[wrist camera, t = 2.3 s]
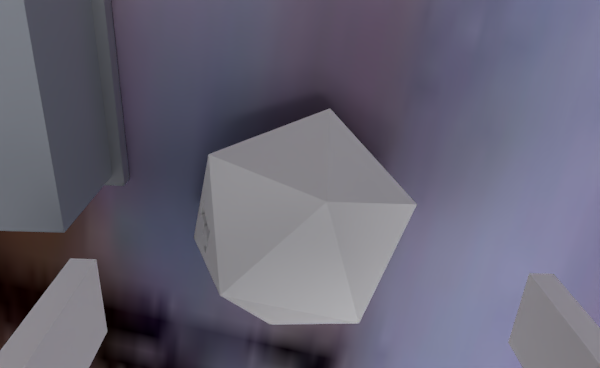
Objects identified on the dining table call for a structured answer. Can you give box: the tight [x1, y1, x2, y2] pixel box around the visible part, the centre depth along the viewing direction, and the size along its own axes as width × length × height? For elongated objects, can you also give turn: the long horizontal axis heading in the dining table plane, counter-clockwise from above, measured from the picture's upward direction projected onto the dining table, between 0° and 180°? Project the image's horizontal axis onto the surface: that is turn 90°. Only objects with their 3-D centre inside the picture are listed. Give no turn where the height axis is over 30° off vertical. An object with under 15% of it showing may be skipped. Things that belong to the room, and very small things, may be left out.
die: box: [194, 108, 417, 325], centre depth 20 cm, size 8×9×10 cm
